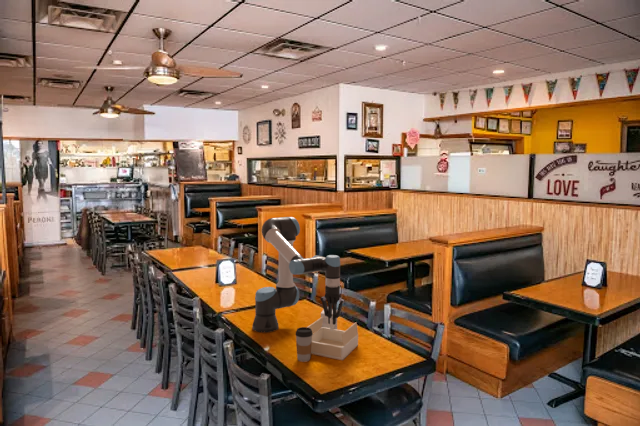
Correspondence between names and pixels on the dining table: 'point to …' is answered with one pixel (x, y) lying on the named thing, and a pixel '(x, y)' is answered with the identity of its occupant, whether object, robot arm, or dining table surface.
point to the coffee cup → (303, 343)
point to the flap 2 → (349, 334)
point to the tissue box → (325, 320)
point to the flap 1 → (316, 325)
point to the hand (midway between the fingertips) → (332, 329)
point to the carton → (332, 344)
